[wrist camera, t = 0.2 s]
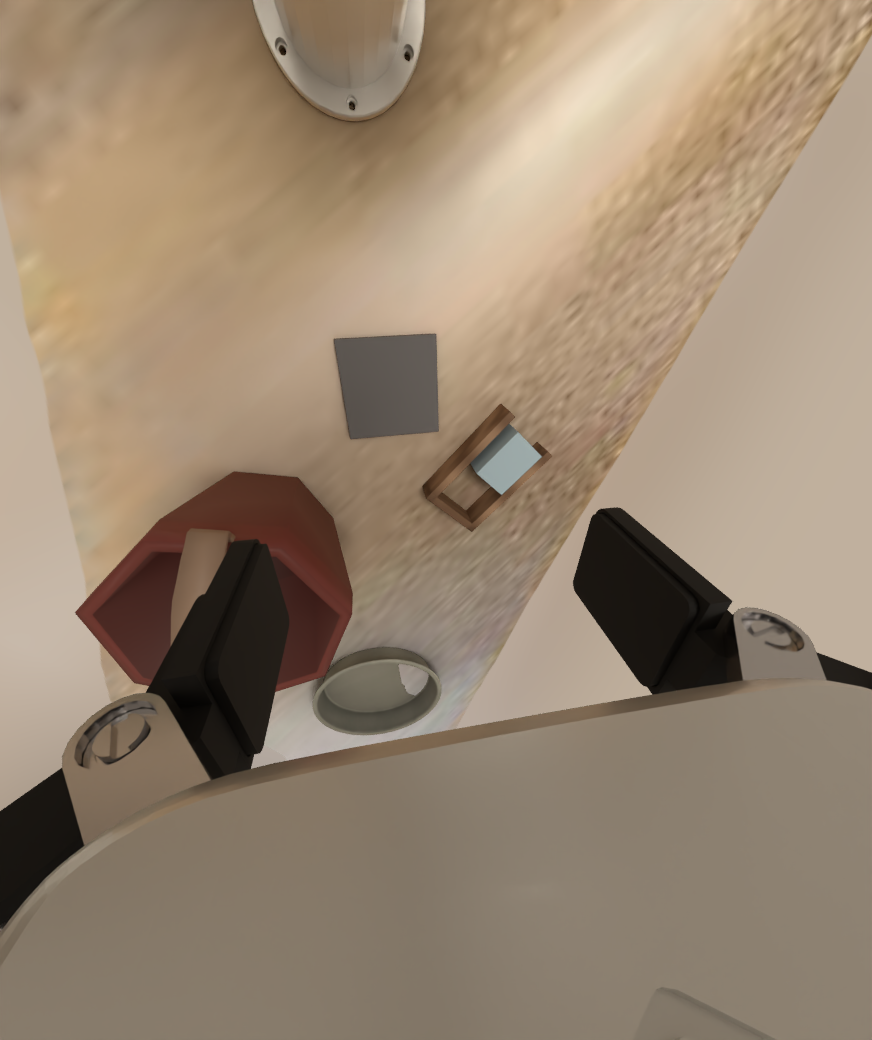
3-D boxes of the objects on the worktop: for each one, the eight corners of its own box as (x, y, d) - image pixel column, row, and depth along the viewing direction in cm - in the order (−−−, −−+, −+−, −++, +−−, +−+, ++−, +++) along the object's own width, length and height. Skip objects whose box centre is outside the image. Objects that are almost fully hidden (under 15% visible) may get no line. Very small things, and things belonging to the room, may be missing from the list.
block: (504, 419, 47) (518, 432, 43) (527, 442, 50) (542, 456, 45) (467, 457, 49) (476, 473, 45) (490, 478, 52) (501, 495, 48)
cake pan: (390, 724, 83) (392, 744, 79) (291, 698, 71) (287, 721, 68) (461, 663, 75) (467, 683, 71) (362, 623, 63) (362, 644, 60)
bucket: (322, 602, 59) (301, 773, 38) (164, 575, 51) (30, 772, 30) (370, 473, 48) (377, 615, 27) (179, 413, 40) (-13, 549, 19)
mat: (334, 338, 39) (333, 339, 38) (434, 333, 40) (436, 334, 39) (350, 436, 45) (350, 439, 44) (437, 429, 46) (438, 431, 46)
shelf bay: (500, 403, 46) (510, 411, 43) (541, 446, 50) (552, 456, 47) (422, 486, 50) (426, 498, 47) (465, 518, 55) (471, 531, 52)
